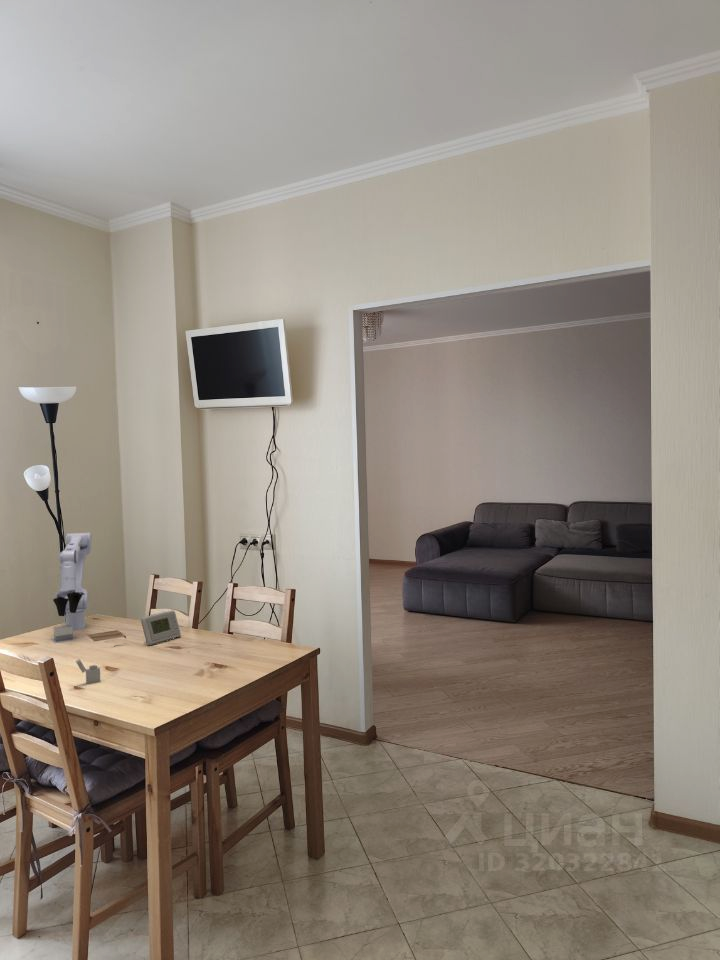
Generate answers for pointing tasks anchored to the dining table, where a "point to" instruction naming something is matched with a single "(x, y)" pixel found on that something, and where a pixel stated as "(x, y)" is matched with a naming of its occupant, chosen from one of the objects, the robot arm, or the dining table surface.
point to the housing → (63, 633)
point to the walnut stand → (106, 635)
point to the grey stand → (63, 641)
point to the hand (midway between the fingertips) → (67, 614)
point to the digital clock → (160, 627)
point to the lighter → (90, 672)
